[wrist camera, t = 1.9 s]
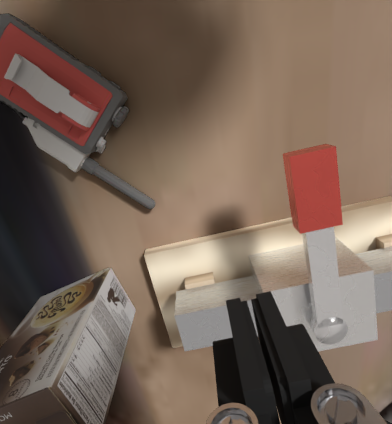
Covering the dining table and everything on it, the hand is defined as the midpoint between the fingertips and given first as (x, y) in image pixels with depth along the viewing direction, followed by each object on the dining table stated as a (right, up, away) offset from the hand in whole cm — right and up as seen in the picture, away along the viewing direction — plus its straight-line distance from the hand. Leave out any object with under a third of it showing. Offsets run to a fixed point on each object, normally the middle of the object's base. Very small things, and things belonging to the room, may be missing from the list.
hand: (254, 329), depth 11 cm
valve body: (+8, -2, +22) cm, 24 cm away
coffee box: (-14, -6, +24) cm, 29 cm away
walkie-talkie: (-13, +13, +19) cm, 26 cm away
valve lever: (+7, +1, +13) cm, 15 cm away
